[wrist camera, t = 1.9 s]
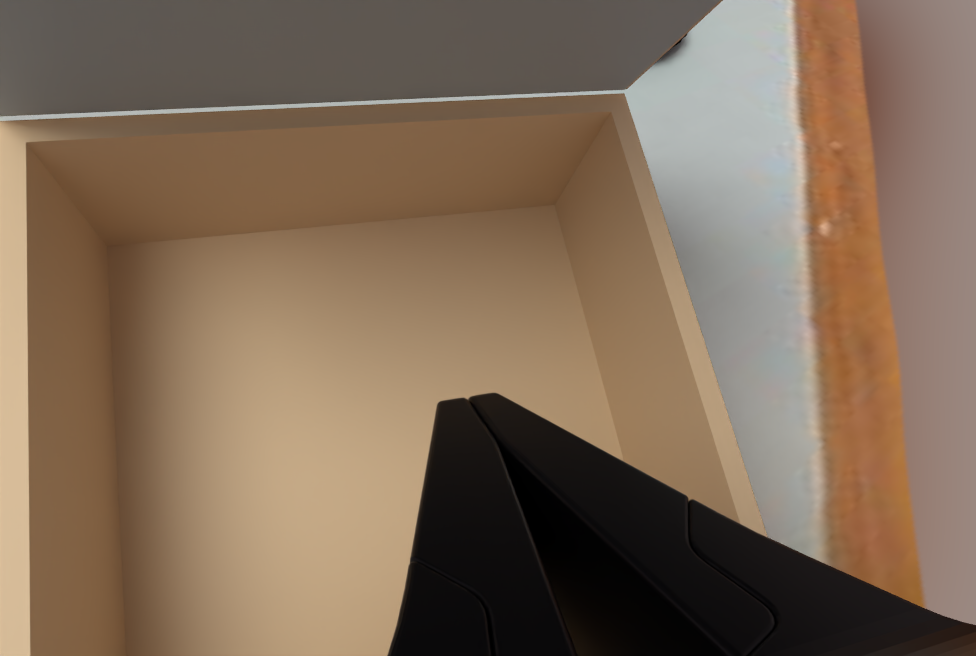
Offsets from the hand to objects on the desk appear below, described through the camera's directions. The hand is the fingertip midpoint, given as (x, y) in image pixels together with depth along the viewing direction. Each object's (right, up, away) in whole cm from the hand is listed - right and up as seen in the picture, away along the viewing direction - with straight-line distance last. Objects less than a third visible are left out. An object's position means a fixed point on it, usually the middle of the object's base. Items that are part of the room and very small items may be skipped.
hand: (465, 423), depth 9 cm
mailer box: (-3, -2, +11) cm, 12 cm away
